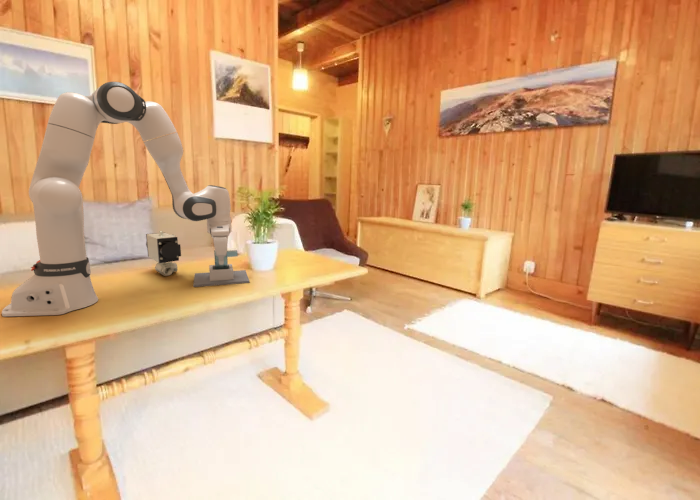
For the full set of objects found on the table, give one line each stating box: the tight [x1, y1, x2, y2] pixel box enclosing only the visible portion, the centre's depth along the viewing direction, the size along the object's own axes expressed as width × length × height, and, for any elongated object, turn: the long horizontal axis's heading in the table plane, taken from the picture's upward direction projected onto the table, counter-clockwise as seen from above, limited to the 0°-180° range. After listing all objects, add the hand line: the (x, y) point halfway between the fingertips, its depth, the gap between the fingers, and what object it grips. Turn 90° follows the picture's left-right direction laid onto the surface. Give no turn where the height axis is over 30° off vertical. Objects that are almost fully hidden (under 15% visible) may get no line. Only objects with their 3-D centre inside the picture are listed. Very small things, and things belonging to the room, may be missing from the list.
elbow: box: [213, 249, 238, 270], centre depth 141 cm, size 9×5×9 cm, turn 112°
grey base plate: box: [192, 263, 250, 288], centre depth 141 cm, size 20×16×5 cm
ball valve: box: [145, 230, 182, 277], centre depth 144 cm, size 18×8×18 cm, turn 46°
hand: (221, 262), depth 140 cm, fingers closed on elbow, 5 cm apart
